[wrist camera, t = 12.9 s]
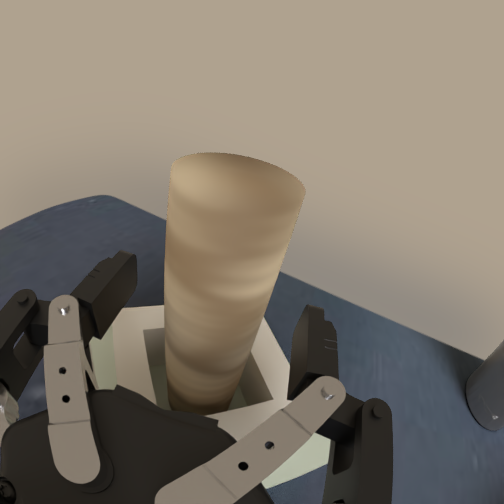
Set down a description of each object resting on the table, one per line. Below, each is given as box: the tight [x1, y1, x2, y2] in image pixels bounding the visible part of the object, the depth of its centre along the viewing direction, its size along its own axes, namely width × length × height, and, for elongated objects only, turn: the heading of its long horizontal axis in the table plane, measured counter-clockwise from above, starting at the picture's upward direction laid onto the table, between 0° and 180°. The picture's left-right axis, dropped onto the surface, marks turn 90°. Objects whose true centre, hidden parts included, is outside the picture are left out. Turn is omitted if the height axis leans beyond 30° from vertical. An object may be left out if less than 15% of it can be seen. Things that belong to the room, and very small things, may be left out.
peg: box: [164, 153, 305, 416], centre depth 13 cm, size 4×4×16 cm
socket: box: [90, 305, 330, 489], centre depth 17 cm, size 16×16×6 cm
